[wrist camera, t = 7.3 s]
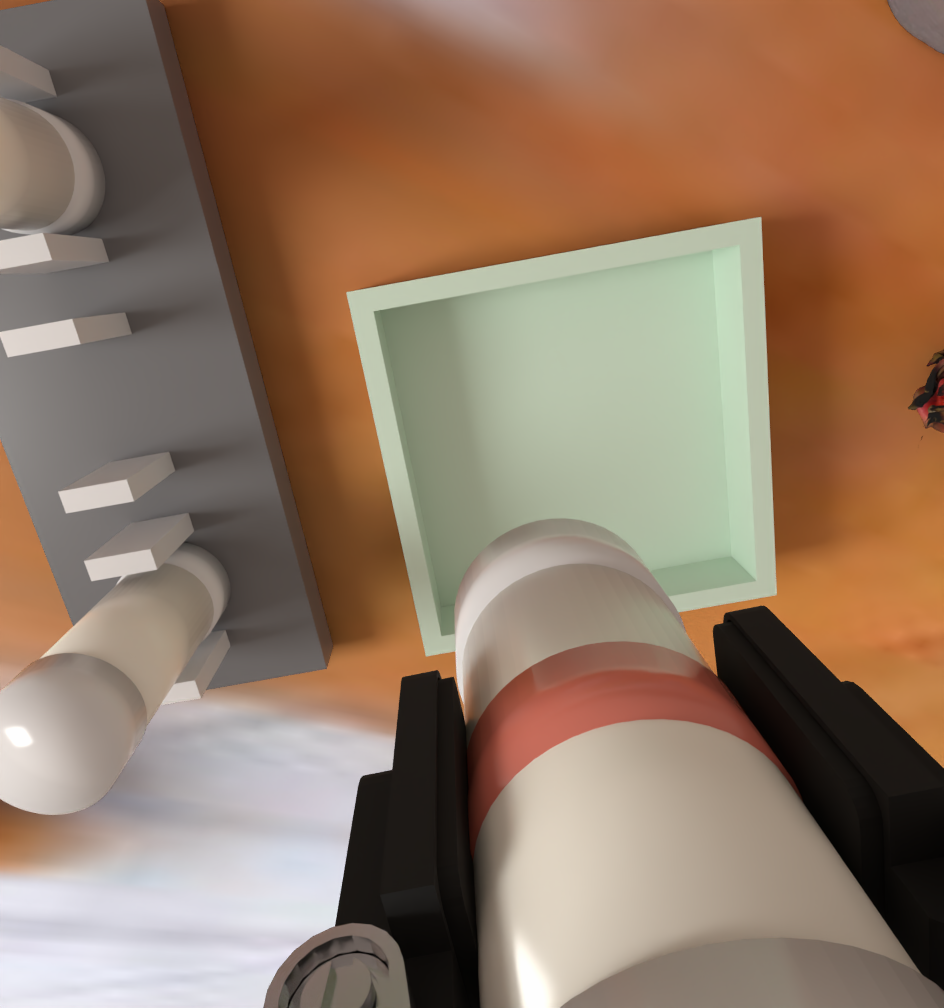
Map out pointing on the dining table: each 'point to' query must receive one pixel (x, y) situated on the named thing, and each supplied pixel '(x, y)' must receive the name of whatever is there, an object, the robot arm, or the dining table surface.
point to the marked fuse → (639, 807)
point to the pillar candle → (922, 20)
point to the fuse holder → (144, 356)
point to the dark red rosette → (932, 396)
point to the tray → (580, 411)
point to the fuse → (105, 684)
